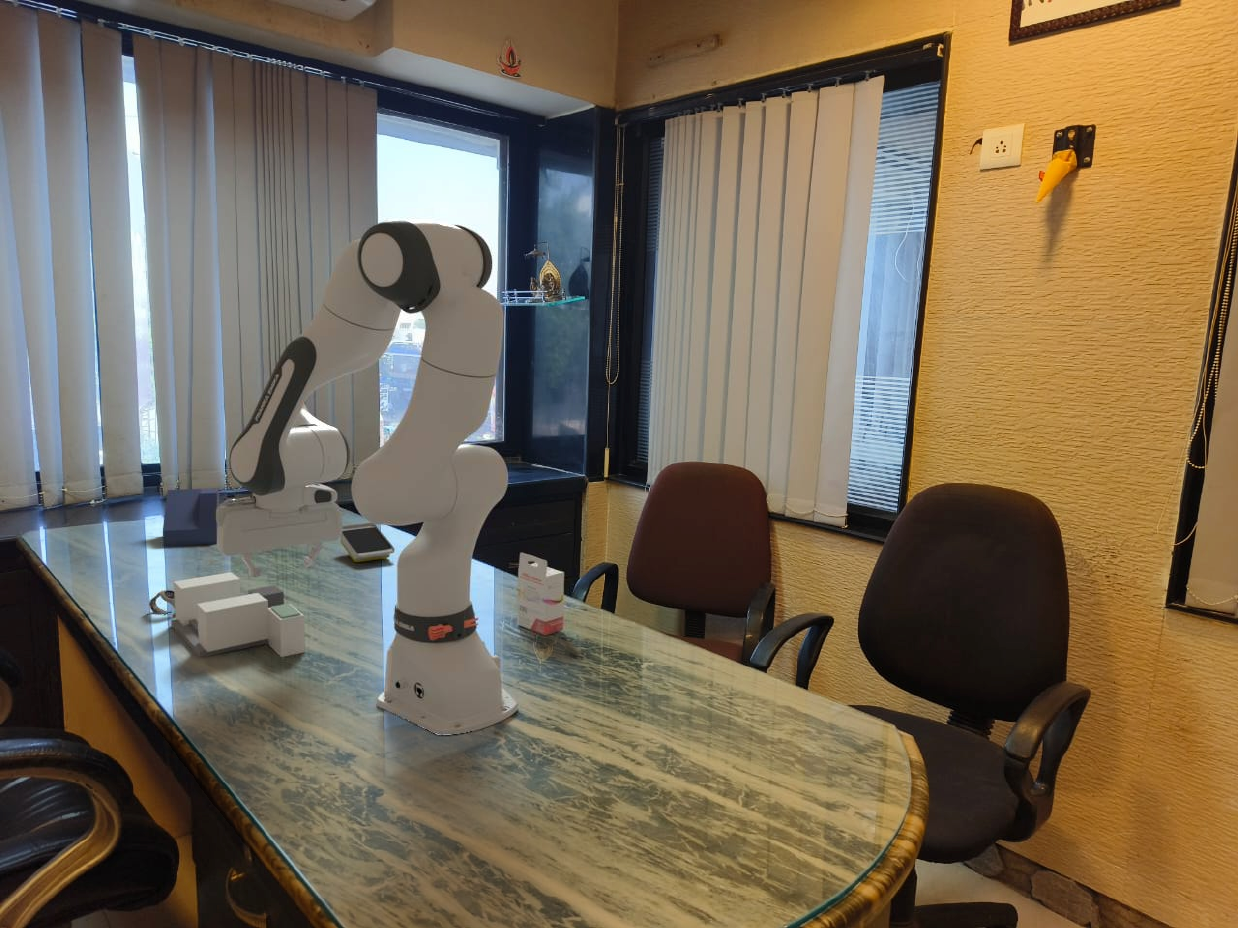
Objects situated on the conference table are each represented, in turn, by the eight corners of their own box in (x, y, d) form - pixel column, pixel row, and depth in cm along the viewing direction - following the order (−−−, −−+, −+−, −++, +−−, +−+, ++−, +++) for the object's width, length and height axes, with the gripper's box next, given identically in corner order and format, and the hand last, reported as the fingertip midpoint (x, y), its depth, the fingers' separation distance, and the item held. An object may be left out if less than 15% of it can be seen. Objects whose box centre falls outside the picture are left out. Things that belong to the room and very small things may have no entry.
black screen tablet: (336, 541, 199) (357, 571, 189) (337, 526, 198) (358, 555, 187) (372, 537, 205) (394, 565, 195) (373, 522, 204) (396, 550, 193)
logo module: (305, 653, 138) (304, 613, 136) (281, 658, 135) (280, 618, 134) (291, 640, 143) (290, 602, 142) (268, 645, 140) (266, 606, 139)
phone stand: (163, 546, 198) (160, 499, 196) (170, 534, 208) (167, 490, 207) (217, 543, 202) (215, 497, 200) (220, 531, 213) (218, 488, 211)
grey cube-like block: (284, 610, 158) (283, 591, 157) (258, 616, 154) (257, 596, 154) (274, 604, 161) (274, 585, 160) (249, 609, 158) (248, 589, 157)
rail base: (275, 644, 141) (273, 599, 139) (201, 661, 132) (199, 613, 131) (238, 612, 155) (236, 571, 154) (170, 626, 147) (167, 582, 146)
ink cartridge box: (564, 630, 153) (566, 557, 151) (545, 636, 150) (547, 561, 147) (535, 618, 159) (536, 547, 156) (515, 624, 155) (517, 551, 153)
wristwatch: (173, 619, 150) (172, 594, 150) (145, 616, 152) (144, 591, 151) (187, 613, 154) (185, 588, 153) (159, 610, 155) (158, 585, 154)
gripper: (221, 504, 125) (224, 587, 128) (346, 491, 139) (346, 566, 142) (209, 496, 130) (212, 576, 132) (331, 484, 144) (331, 557, 146)
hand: (282, 571), depth 137 cm, fingers open, 8 cm apart
